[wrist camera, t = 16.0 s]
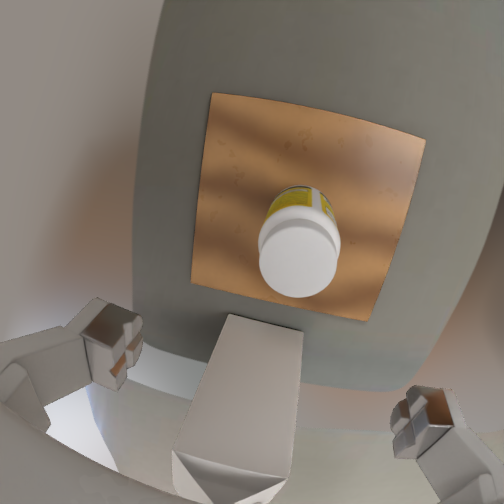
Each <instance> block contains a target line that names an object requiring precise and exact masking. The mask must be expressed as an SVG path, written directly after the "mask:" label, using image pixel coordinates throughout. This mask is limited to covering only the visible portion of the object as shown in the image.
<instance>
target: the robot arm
mask: <svg viewBox="0 0 504 504" xmlns="http://www.w3.org/2000/svg"><path fill="white" fill-rule="evenodd" d="M142 327H143V317H142V316H141V315H139V314H137V313H134V312H132V311H129V310H126V309H124V308H121V307H119V306H117V305H115V304H112V303H109V302H107V301H104V300H102V299H100V298H98V297H97V298H94V299H92V300H91V301H90V302H89V303H88V304H87V305H86V306H85V307H84V308H83V309H82V310H81V311H80V312H79V313H78V314H77V315H76V316H75V317H74V318H73V319H72V320H71V321H70V322H69V323H68V324H67V325H66V326H65V327H64V328H63V327H62V326H58V327H54V328H51V329H47V330H44V331H40V332H36V333H33V334H29V335H26V336H22V337H19V338H15V339H11V340H8V341H4V342H1V343H0V504H202V503H199V502H195V501H192V500H189V499H186V498H182V497H179V496H176V495H173V494H170V493H168V492H165V491H162V490H159V489H156V488H154V487H151V486H149V485H146V484H144V483H141V482H139V481H136V480H134V479H131V478H129V477H127V476H124V475H122V474H120V473H118V472H116V471H113V470H111V469H109V468H107V467H105V466H103V465H101V464H99V463H97V462H95V461H93V460H91V459H89V458H87V457H85V456H84V455H82V454H80V453H78V452H76V451H75V450H73V449H71V448H69V447H68V446H66V445H64V444H62V443H61V442H59V441H57V440H56V439H54V438H52V437H51V436H49V435H48V434H46V433H45V432H46V431H47V429H48V428H49V426H50V425H51V423H50V419H49V417H48V415H47V413H46V411H45V410H44V406H46V405H48V404H50V403H52V402H54V401H56V400H58V399H60V398H63V397H64V396H67V395H69V394H71V393H73V392H74V391H77V390H79V389H80V388H83V387H85V386H87V385H89V384H91V383H92V381H93V382H95V383H97V384H99V385H102V386H104V387H106V388H108V389H111V390H113V391H115V392H118V390H119V389H120V387H121V386H122V384H123V383H124V381H125V379H126V378H127V369H128V368H131V367H133V366H134V365H135V364H136V362H137V360H138V358H139V356H140V353H141V350H142V345H143V337H142V335H141V334H140V332H139V331H140V329H141V328H142ZM390 426H391V430H392V432H393V433H394V434H395V435H396V436H395V438H394V439H393V441H392V442H393V449H394V457H395V458H398V459H417V460H416V462H417V463H418V465H419V467H420V468H421V470H422V471H423V473H424V475H425V476H426V478H427V479H428V481H429V483H430V484H431V486H432V487H433V489H434V491H435V492H436V494H437V496H438V497H439V499H440V501H441V502H439V503H437V504H504V464H503V462H502V461H501V460H500V459H499V458H498V457H497V456H496V455H495V454H494V453H493V452H492V450H491V449H490V448H489V447H488V446H487V445H486V444H485V443H484V442H483V441H482V440H481V439H480V438H479V437H478V435H477V434H476V433H475V432H474V431H473V430H472V429H471V428H467V426H466V423H465V420H464V417H463V414H462V411H461V408H460V405H459V402H458V399H457V396H456V394H455V392H454V391H453V390H452V389H443V388H433V387H425V386H417V385H414V386H412V387H411V388H410V389H409V390H408V391H407V393H406V399H404V400H402V401H400V402H399V403H398V404H397V405H396V406H395V408H394V409H393V412H392V415H391V419H390Z"/></svg>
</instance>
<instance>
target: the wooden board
mask: <svg viewBox="0 0 504 504" xmlns="http://www.w3.org/2000/svg"><path fill="white" fill-rule="evenodd" d="M425 142H426V140H425V139H423V138H420V137H417V136H414V135H411V134H408V133H405V132H402V131H399V130H396V129H393V128H389V127H386V126H383V125H379V124H376V123H372V122H369V121H365V120H362V119H358V118H354V117H350V116H346V115H342V114H338V113H334V112H330V111H325V110H321V109H316V108H311V107H306V106H301V105H296V104H291V103H286V102H280V101H274V100H268V99H261V98H254V97H247V96H240V95H231V94H222V93H212V97H211V104H210V110H209V117H208V124H207V131H206V138H205V146H204V153H203V161H202V169H201V178H200V186H199V195H198V204H197V214H196V224H195V235H194V246H193V258H192V271H191V283H194V284H198V285H202V286H206V287H210V288H214V289H218V290H222V291H226V292H231V293H235V294H239V295H243V296H248V297H252V298H256V299H261V300H265V301H270V302H274V303H279V304H283V305H288V306H292V307H297V308H302V309H307V310H311V311H316V312H321V313H326V314H331V315H336V316H341V317H346V318H351V319H356V320H362V321H368V319H369V317H370V315H371V312H372V310H373V307H374V305H375V302H376V300H377V298H378V295H379V293H380V290H381V287H382V285H383V282H384V280H385V277H386V274H387V272H388V269H389V266H390V263H391V261H392V258H393V255H394V252H395V249H396V246H397V243H398V240H399V237H400V234H401V231H402V228H403V225H404V222H405V218H406V215H407V212H408V208H409V205H410V202H411V198H412V195H413V191H414V187H415V184H416V180H417V176H418V172H419V168H420V164H421V160H422V156H423V151H424V147H425ZM295 185H305V186H310V187H313V188H315V189H317V190H319V191H320V192H322V193H323V194H324V195H325V196H326V197H327V199H328V200H329V202H330V204H331V206H332V209H333V213H334V217H335V220H336V224H337V228H338V231H339V235H340V243H341V245H340V253H339V257H338V259H337V268H336V272H335V275H334V277H333V279H332V281H331V282H330V283H329V285H328V286H327V287H326V288H324V289H323V290H322V291H320V292H319V293H317V294H315V295H312V296H308V297H302V298H295V297H289V296H285V295H283V294H280V293H278V292H277V291H275V290H274V289H272V288H271V287H270V286H269V285H268V284H267V283H266V281H265V280H264V278H263V276H262V274H261V271H260V266H259V256H260V253H259V248H258V239H259V234H260V230H261V228H262V225H263V223H264V220H265V218H266V216H267V213H268V211H269V208H270V206H271V204H272V202H273V200H274V199H275V197H276V196H277V195H278V194H279V193H280V192H281V191H283V190H284V189H286V188H288V187H291V186H295Z"/></svg>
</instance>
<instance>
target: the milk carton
mask: <svg viewBox="0 0 504 504" xmlns="http://www.w3.org/2000/svg"><path fill="white" fill-rule="evenodd" d="M302 346H303V332H301V331H297V330H292V329H288V328H284V327H280V326H276V325H272V324H268V323H264V322H260V321H256V320H252V319H248V318H244V317H240V316H236V315H232V314H228V317H227V319H226V321H225V324H224V326H223V329H222V331H221V333H220V336H219V338H218V341H217V343H216V345H215V348H214V350H213V353H212V355H211V357H210V360H209V362H208V365H207V367H206V369H205V372H204V374H203V377H202V379H201V381H200V384H199V386H198V388H197V391H196V393H195V396H194V398H193V400H192V403H191V405H190V408H189V410H188V412H187V415H186V417H185V419H184V422H183V424H182V427H181V429H180V431H179V434H178V436H177V438H176V441H175V443H174V446H173V448H172V476H173V487H174V488H175V489H176V491H177V492H178V493H179V495H180V496H181V497H182V498H186V499H189V500H192V501H195V502H199V503H202V504H268V503H269V502H270V501H271V499H272V498H273V497H274V496H275V495H276V493H277V492H278V491H279V490H280V489H281V488H282V486H283V485H284V484H285V483H286V481H287V480H288V478H289V475H290V468H291V461H292V453H293V444H294V435H295V426H296V416H297V406H298V396H299V384H300V372H301V359H302Z"/></svg>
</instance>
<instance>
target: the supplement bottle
mask: <svg viewBox="0 0 504 504" xmlns="http://www.w3.org/2000/svg"><path fill="white" fill-rule="evenodd" d="M340 245H341V243H340V235H339V231H338V228H337V224H336V220H335V217H334V213H333V209H332V206H331V204H330V202H329V200H328V199H327V197H326V196H325V195H324V194H323V193H322V192H320V191H319V190H317V189H315V188H313V187H310V186H305V185H295V186H291V187H288V188H286V189H284V190H283V191H281V192H280V193H279V194H278V195H277V196H276V197H275V199H274V200H273V202H272V204H271V206H270V208H269V211H268V213H267V216H266V218H265V220H264V223H263V225H262V228H261V230H260V234H259V239H258V248H259V253H260V256H259V266H260V271H261V274H262V276H263V278H264V280H265V281H266V283H267V284H268V285H269V286H270V287H271V288H272V289H274V290H275V291H277V292H278V293H280V294H283V295H285V296H289V297H295V298H302V297H308V296H312V295H315V294H317V293H319V292H320V291H322V290H323V289H324V288H326V287H327V286H328V285H329V283H330V282H331V281H332V279H333V277H334V275H335V272H336V268H337V259H338V257H339V253H340Z"/></svg>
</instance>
